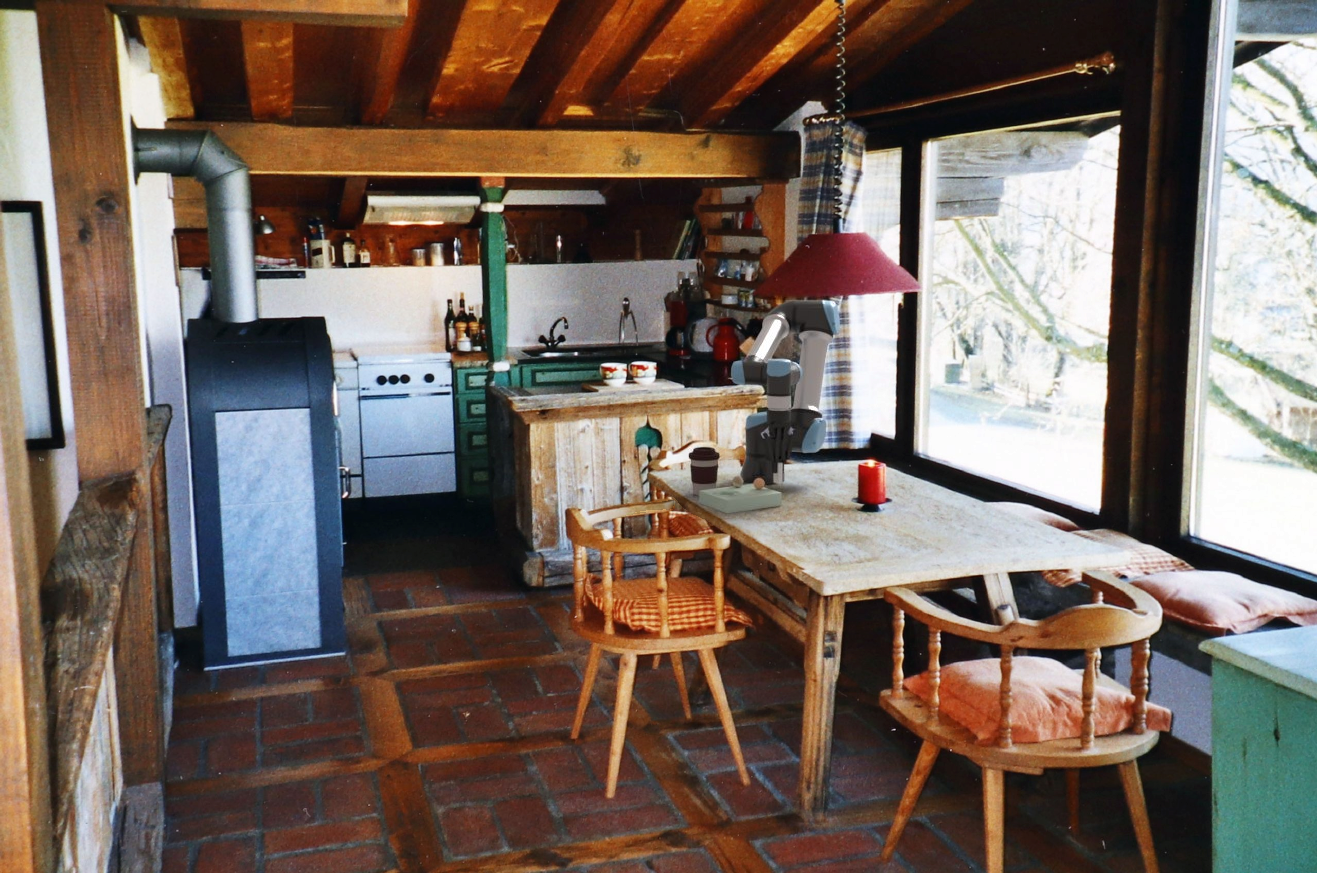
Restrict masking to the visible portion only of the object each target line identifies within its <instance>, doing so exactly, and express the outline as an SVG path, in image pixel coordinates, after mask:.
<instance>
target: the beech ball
mask: <svg viewBox="0 0 1317 873" xmlns="http://www.w3.org/2000/svg"><path fill="white" fill-rule="evenodd" d="M731 480H732V481H731V484H732V485H733V486H735V487H741V486H742V485H744V481H743V479H742V478H741V477H740V475H737V476H734V477H733V478H732V479H731Z"/></svg>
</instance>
